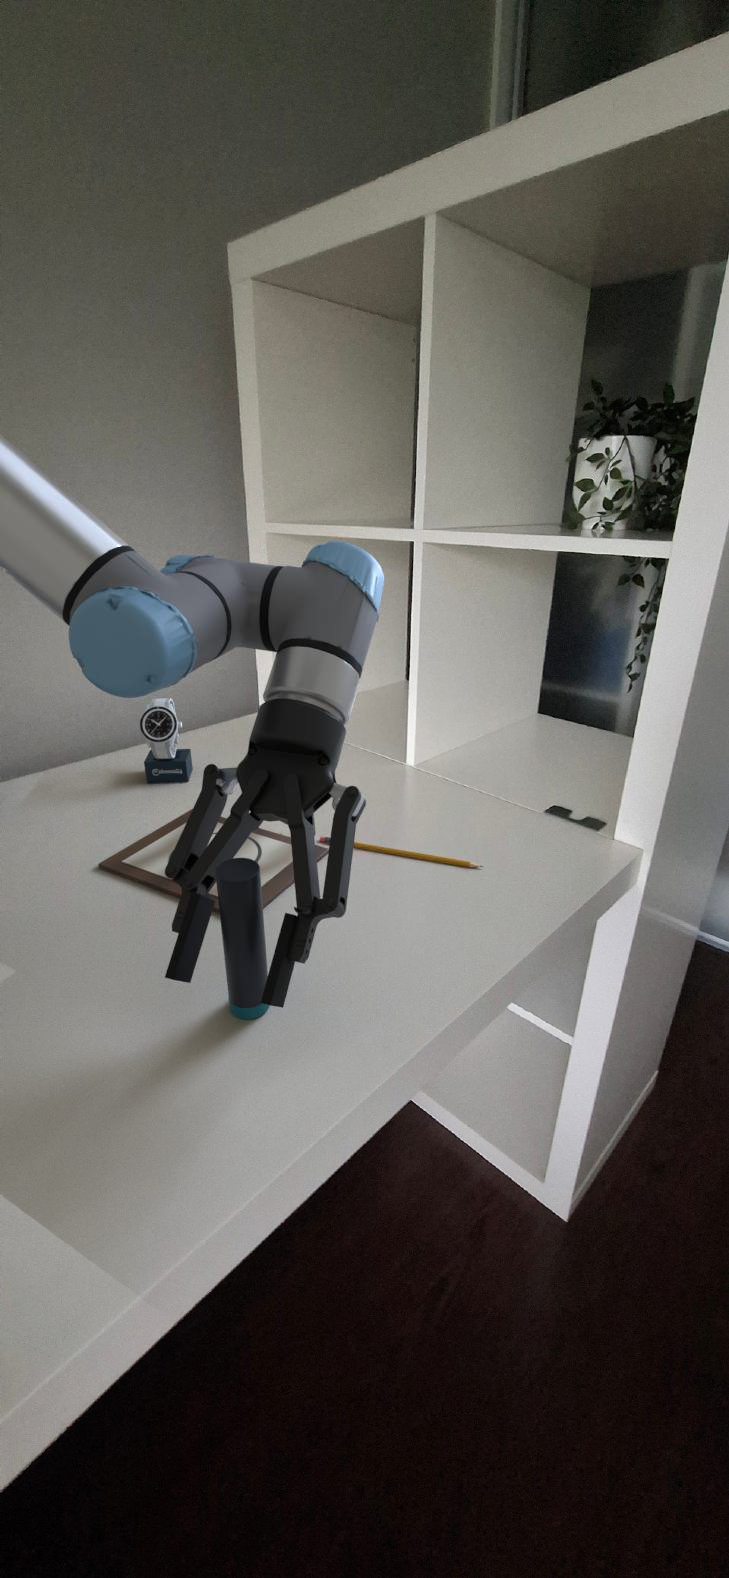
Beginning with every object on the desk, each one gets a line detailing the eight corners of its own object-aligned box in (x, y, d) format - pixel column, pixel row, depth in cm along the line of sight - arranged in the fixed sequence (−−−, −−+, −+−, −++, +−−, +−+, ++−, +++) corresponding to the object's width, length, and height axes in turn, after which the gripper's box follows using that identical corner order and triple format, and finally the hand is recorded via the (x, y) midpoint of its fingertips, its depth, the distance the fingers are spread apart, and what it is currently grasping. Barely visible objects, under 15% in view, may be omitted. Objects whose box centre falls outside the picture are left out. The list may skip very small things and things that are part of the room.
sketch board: (98, 867, 74) (97, 862, 74) (193, 811, 86) (192, 806, 86) (246, 923, 65) (245, 917, 65) (329, 852, 77) (329, 846, 77)
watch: (144, 789, 92) (132, 711, 87) (155, 765, 99) (145, 691, 94) (186, 788, 92) (177, 710, 87) (195, 764, 99) (186, 690, 94)
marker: (221, 1010, 55) (205, 873, 49) (246, 986, 58) (234, 853, 52) (253, 1025, 54) (241, 885, 48) (278, 999, 56) (269, 864, 51)
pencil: (319, 843, 79) (319, 837, 79) (321, 840, 80) (321, 834, 80) (483, 871, 74) (483, 865, 74) (484, 868, 75) (484, 862, 74)
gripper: (427, 748, 58) (363, 1027, 51) (217, 721, 64) (135, 967, 57) (412, 708, 51) (336, 1024, 44) (179, 681, 57) (81, 956, 50)
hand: (223, 992), depth 51 cm, fingers open, 7 cm apart
